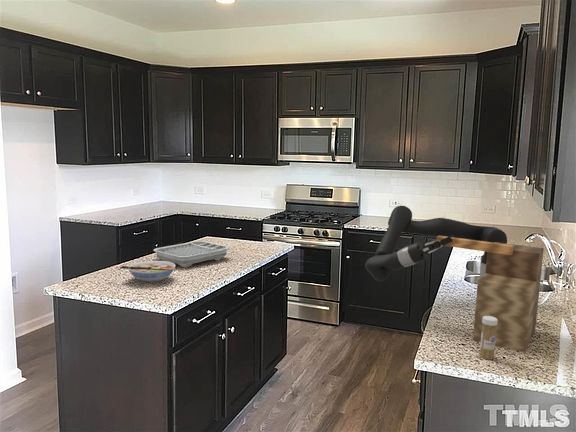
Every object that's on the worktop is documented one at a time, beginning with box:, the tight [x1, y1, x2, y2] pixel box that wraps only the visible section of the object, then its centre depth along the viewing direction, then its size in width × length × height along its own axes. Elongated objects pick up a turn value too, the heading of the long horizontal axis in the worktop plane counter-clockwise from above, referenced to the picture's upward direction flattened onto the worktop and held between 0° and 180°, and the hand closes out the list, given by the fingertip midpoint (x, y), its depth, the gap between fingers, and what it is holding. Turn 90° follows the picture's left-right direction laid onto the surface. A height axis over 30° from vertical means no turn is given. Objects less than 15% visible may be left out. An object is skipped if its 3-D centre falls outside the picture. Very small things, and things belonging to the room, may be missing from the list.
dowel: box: [435, 236, 513, 255], centre depth 171 cm, size 26×3×3 cm, turn 55°
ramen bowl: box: [119, 260, 177, 284], centre depth 232 cm, size 25×23×8 cm
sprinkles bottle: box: [478, 316, 498, 360], centre depth 154 cm, size 5×5×14 cm
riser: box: [472, 242, 545, 353], centre depth 172 cm, size 17×24×32 cm
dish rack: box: [153, 240, 230, 268], centre depth 276 cm, size 32×37×8 cm
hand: (452, 238), depth 175 cm, fingers closed on dowel, 3 cm apart
